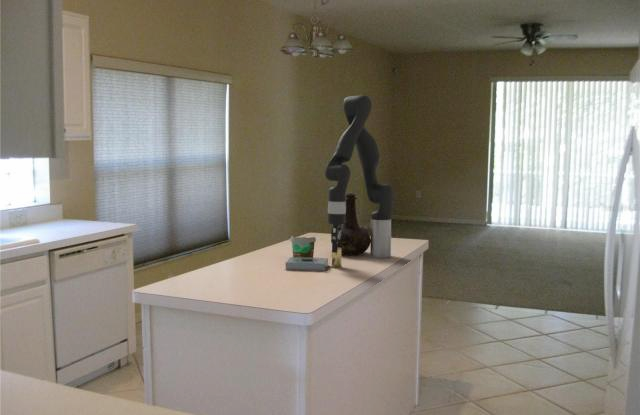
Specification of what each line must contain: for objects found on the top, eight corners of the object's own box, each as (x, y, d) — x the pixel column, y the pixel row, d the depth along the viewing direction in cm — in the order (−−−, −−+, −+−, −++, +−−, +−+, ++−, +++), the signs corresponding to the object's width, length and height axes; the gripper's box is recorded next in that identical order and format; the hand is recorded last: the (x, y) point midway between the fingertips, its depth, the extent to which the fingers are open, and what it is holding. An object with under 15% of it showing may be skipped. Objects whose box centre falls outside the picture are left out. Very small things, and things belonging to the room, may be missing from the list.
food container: (285, 258, 285) (285, 236, 284) (292, 256, 291) (292, 234, 289) (309, 261, 279) (309, 238, 278) (315, 259, 285) (316, 236, 284)
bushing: (341, 266, 269) (342, 247, 268) (340, 268, 265) (341, 249, 265) (332, 265, 270) (332, 247, 269) (331, 267, 266) (331, 248, 265)
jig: (328, 265, 271) (328, 258, 271) (324, 270, 259) (324, 263, 259) (291, 263, 273) (291, 257, 273) (285, 269, 262) (285, 262, 261)
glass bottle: (376, 255, 294) (377, 195, 291) (341, 258, 287) (341, 196, 284) (360, 249, 310) (360, 192, 307) (326, 251, 304) (326, 193, 301)
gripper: (343, 214, 258) (343, 253, 259) (347, 210, 272) (346, 248, 273) (325, 213, 259) (324, 253, 260) (330, 210, 273) (329, 247, 274)
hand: (335, 250), depth 267 cm, fingers open, 8 cm apart
